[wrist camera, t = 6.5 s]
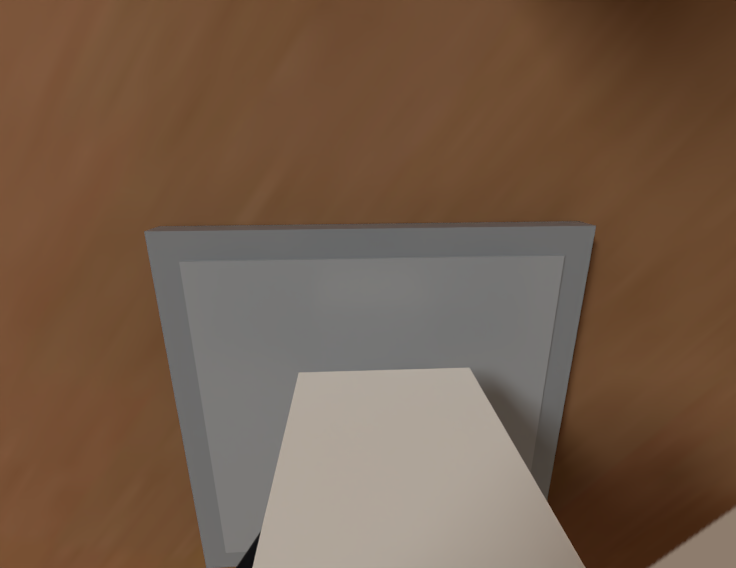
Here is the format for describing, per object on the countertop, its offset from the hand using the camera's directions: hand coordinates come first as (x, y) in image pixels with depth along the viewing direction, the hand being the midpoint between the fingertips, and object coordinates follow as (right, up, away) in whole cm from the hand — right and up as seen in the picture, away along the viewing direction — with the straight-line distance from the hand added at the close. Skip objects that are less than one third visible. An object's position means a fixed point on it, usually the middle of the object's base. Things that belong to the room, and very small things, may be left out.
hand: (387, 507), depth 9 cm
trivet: (0, +1, +4) cm, 4 cm away
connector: (0, -1, +1) cm, 2 cm away
